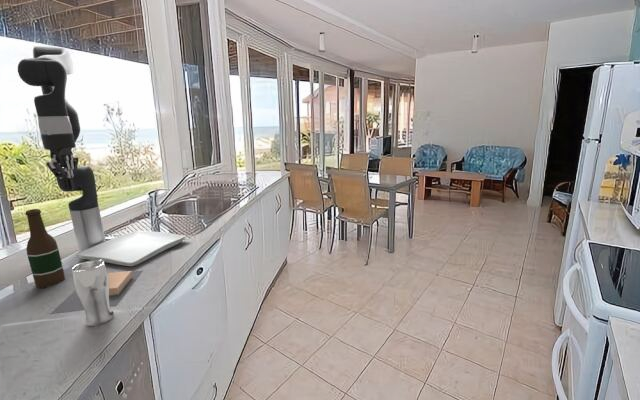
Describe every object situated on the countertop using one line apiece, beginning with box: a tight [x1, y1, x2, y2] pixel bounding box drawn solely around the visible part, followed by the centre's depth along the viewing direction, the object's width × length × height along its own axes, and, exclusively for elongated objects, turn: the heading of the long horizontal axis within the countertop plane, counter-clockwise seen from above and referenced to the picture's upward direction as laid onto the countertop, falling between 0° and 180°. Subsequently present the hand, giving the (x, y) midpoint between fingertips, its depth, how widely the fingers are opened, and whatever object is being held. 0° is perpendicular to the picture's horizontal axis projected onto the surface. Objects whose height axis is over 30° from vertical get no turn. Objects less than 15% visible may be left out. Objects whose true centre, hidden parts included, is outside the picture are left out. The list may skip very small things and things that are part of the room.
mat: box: [49, 269, 144, 315], centre depth 98 cm, size 22×16×1 cm
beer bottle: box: [25, 208, 66, 289], centre depth 101 cm, size 8×8×24 cm
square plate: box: [75, 229, 187, 267], centre depth 127 cm, size 27×27×4 cm
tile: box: [107, 270, 133, 296], centre depth 98 cm, size 2×9×11 cm
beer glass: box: [71, 260, 115, 327], centre depth 82 cm, size 7×7×15 cm
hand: (69, 190), depth 101 cm, fingers closed
